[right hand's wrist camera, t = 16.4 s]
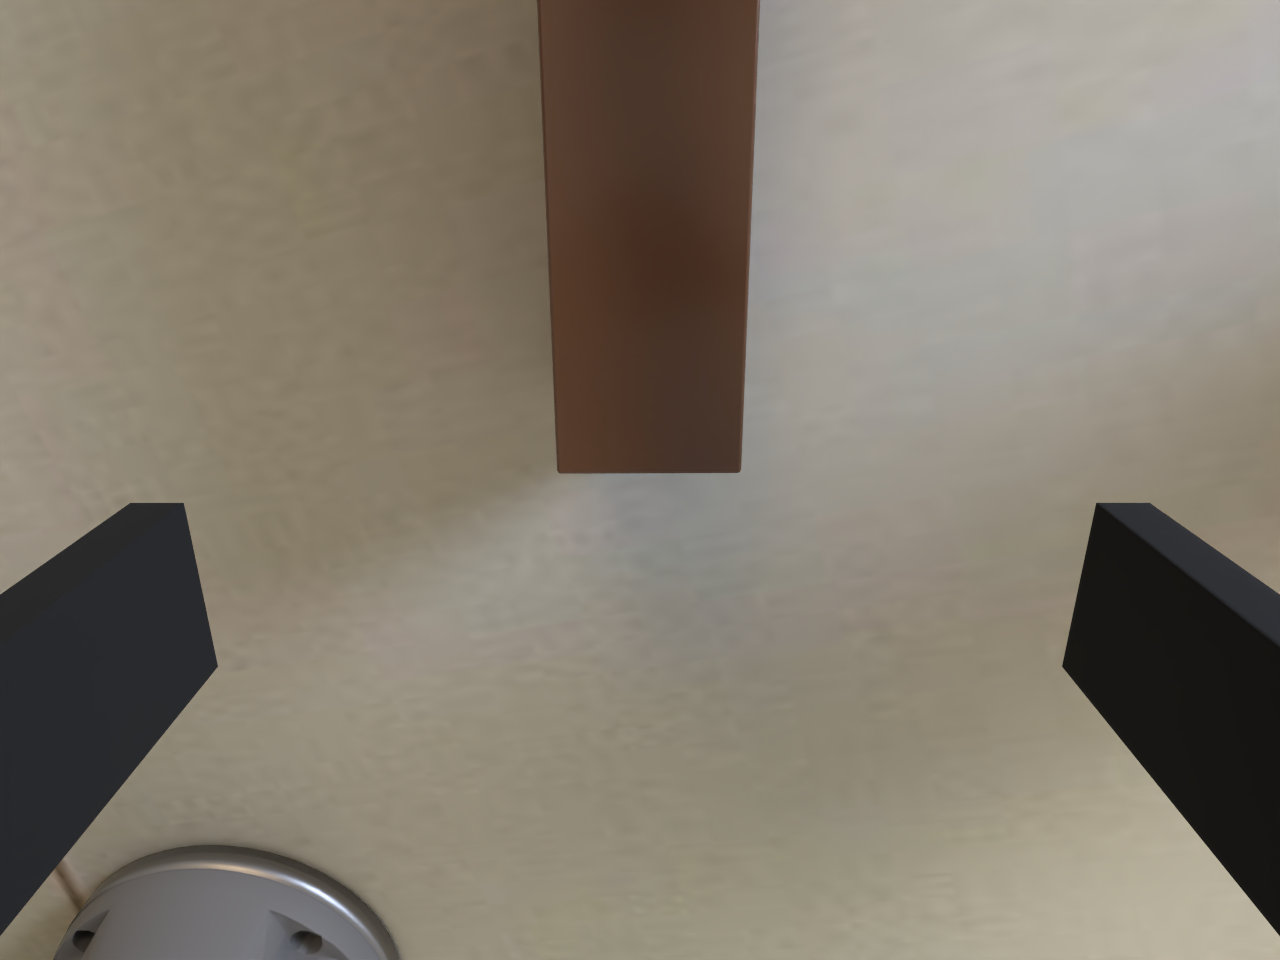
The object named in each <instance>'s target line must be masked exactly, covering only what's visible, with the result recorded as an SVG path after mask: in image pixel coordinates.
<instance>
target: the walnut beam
mask: <svg viewBox="0 0 1280 960" xmlns="http://www.w3.org/2000/svg"><path fill="white" fill-rule="evenodd" d="M537 7H538V31H539V54H540V78H541V101H542V125H543V148H544V171H545V195H546V218H547V242H548V265H549V289H550V312H551V336H552V359H553V383H554V406H555V430H556V453H557V471H558V473H738V472H740V471H741V458H742V434H743V409H744V384H745V359H746V334H747V309H748V285H749V260H750V235H751V210H752V185H753V160H754V135H755V111H756V86H757V61H758V36H759V11H760V0H537Z"/></svg>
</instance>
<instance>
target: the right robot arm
mask: <svg viewBox="0 0 1280 960" xmlns="http://www.w3.org/2000/svg"><path fill="white" fill-rule="evenodd" d="M217 667H218V665H217V660H216V655H215V651H214V646H213V641H212V636H211V631H210V627H209V622H208V617H207V612H206V607H205V603H204V598H203V593H202V588H201V584H200V579H199V574H198V569H197V564H196V560H195V555H194V550H193V545H192V540H191V536H190V531H189V526H188V521H187V516H186V512H185V507H184V503H130V504H128V505H127V506H125V507H124V508H123V509H121V510H120V511H118V512H117V513H116V514H114V515H113V516H111V517H110V518H108V519H107V520H106V521H104V522H103V523H101V524H100V525H99V526H97V527H96V528H94V529H93V530H91V531H90V532H89V533H87V534H86V535H84V536H83V537H81V538H80V539H79V540H77V541H76V542H74V543H73V544H72V545H70V546H69V547H67V548H66V549H64V550H63V551H62V552H60V553H59V554H57V555H56V556H55V557H53V558H52V559H50V560H49V561H47V562H46V563H45V564H43V565H42V566H40V567H39V568H37V569H36V570H35V571H33V572H32V573H30V574H29V575H28V576H26V577H25V578H23V579H22V580H20V581H19V582H18V583H16V584H15V585H13V586H12V587H10V588H9V589H8V590H6V591H5V592H3V593H2V594H1V595H0V935H1V934H2V933H3V932H4V931H5V929H6V928H7V927H8V926H9V924H10V923H11V922H12V921H13V919H14V918H15V917H16V916H17V914H18V913H19V912H20V911H21V909H22V908H23V907H24V906H25V905H26V903H27V902H28V901H29V900H30V898H31V897H32V896H33V895H34V893H35V892H36V891H37V890H38V888H39V887H40V886H41V885H42V884H43V882H44V881H45V880H46V879H47V877H48V876H49V875H50V874H51V872H52V871H53V870H54V869H55V867H56V866H57V865H58V864H59V862H60V861H61V860H62V859H63V858H64V856H65V855H66V854H67V853H68V851H69V850H70V849H71V848H72V846H73V845H74V844H75V843H76V841H77V840H78V839H79V838H80V836H81V835H82V834H83V833H84V832H85V830H86V829H87V828H88V827H89V825H90V824H91V823H92V822H93V820H94V819H95V818H96V817H97V815H98V814H99V813H100V812H101V810H102V809H103V808H104V807H105V806H106V804H107V803H108V802H109V801H110V799H111V798H112V797H113V796H114V794H115V793H116V792H117V791H118V789H119V788H120V787H121V786H122V785H123V783H124V782H125V781H126V780H127V778H128V777H129V776H130V775H131V773H132V772H133V771H134V770H135V768H136V767H137V766H138V765H139V763H140V762H141V761H142V760H143V759H144V757H145V756H146V755H147V754H148V752H149V751H150V750H151V749H152V747H153V746H154V745H155V744H156V742H157V741H158V740H159V739H160V737H161V736H162V735H163V734H164V733H165V731H166V730H167V729H168V728H169V726H170V725H171V724H172V723H173V721H174V720H175V719H176V718H177V716H178V715H179V714H180V713H181V711H182V710H183V709H184V708H185V707H186V705H187V704H188V703H189V702H190V700H191V699H192V698H193V697H194V695H195V694H196V693H197V692H198V690H199V689H200V688H201V687H202V685H203V684H204V683H205V682H206V681H207V679H208V678H209V677H210V676H211V674H212V673H213V672H214V671H215V669H216V668H217ZM1062 667H1063V668H1064V669H1065V671H1066V672H1067V673H1068V674H1069V676H1070V677H1071V678H1072V679H1073V681H1074V682H1075V683H1076V684H1077V685H1078V687H1079V688H1080V689H1081V690H1082V692H1083V693H1084V694H1085V695H1086V697H1087V698H1088V699H1089V700H1090V702H1091V703H1092V704H1093V705H1094V707H1095V708H1096V709H1097V710H1098V711H1099V713H1100V714H1101V715H1102V716H1103V718H1104V719H1105V720H1106V721H1107V723H1108V724H1109V725H1110V726H1111V728H1112V729H1113V730H1114V731H1115V733H1116V734H1117V735H1118V736H1119V737H1120V739H1121V740H1122V741H1123V742H1124V744H1125V745H1126V746H1127V747H1128V749H1129V750H1130V751H1131V752H1132V754H1133V755H1134V756H1135V757H1136V759H1137V760H1138V761H1139V762H1140V763H1141V765H1142V766H1143V767H1144V768H1145V770H1146V771H1147V772H1148V773H1149V775H1150V776H1151V777H1152V778H1153V780H1154V781H1155V782H1156V783H1157V785H1158V786H1159V787H1160V788H1161V789H1162V791H1163V792H1164V793H1165V794H1166V796H1167V797H1168V798H1169V799H1170V801H1171V802H1172V803H1173V804H1174V806H1175V807H1176V808H1177V809H1178V810H1179V812H1180V813H1181V814H1182V815H1183V817H1184V818H1185V819H1186V820H1187V822H1188V823H1189V824H1190V825H1191V827H1192V828H1193V829H1194V830H1195V832H1196V833H1197V834H1198V835H1199V836H1200V838H1201V839H1202V840H1203V841H1204V843H1205V844H1206V845H1207V846H1208V848H1209V849H1210V850H1211V851H1212V853H1213V854H1214V855H1215V856H1216V858H1217V859H1218V860H1219V861H1220V862H1221V864H1222V865H1223V866H1224V867H1225V869H1226V870H1227V871H1228V872H1229V874H1230V875H1231V876H1232V877H1233V879H1234V880H1235V881H1236V882H1237V884H1238V885H1239V886H1240V887H1241V888H1242V890H1243V891H1244V892H1245V893H1246V895H1247V896H1248V897H1249V898H1250V900H1251V901H1252V902H1253V903H1254V905H1255V906H1256V907H1257V908H1258V909H1259V911H1260V912H1261V913H1262V914H1263V916H1264V917H1265V918H1266V919H1267V921H1268V922H1269V923H1270V924H1271V926H1272V927H1273V928H1274V929H1275V931H1276V932H1277V933H1278V934H1279V935H1280V595H1279V594H1278V593H1277V592H1275V591H1274V590H1272V589H1271V588H1270V587H1268V586H1267V585H1265V584H1264V583H1262V582H1261V581H1260V580H1258V579H1257V578H1255V577H1254V576H1252V575H1251V574H1250V573H1248V572H1247V571H1245V570H1244V569H1243V568H1241V567H1240V566H1238V565H1237V564H1235V563H1234V562H1233V561H1231V560H1230V559H1228V558H1227V557H1225V556H1224V555H1223V554H1221V553H1220V552H1218V551H1217V550H1216V549H1214V548H1213V547H1211V546H1210V545H1208V544H1207V543H1206V542H1204V541H1203V540H1201V539H1200V538H1199V537H1197V536H1196V535H1194V534H1193V533H1191V532H1190V531H1189V530H1187V529H1186V528H1184V527H1183V526H1181V525H1180V524H1179V523H1177V522H1176V521H1174V520H1173V519H1172V518H1170V517H1169V516H1167V515H1166V514H1164V513H1163V512H1162V511H1160V510H1159V509H1157V508H1156V507H1155V506H1153V505H1152V504H1150V503H1096V507H1095V512H1094V516H1093V521H1092V526H1091V531H1090V536H1089V540H1088V545H1087V550H1086V555H1085V560H1084V564H1083V569H1082V574H1081V579H1080V584H1079V588H1078V593H1077V598H1076V603H1075V607H1074V612H1073V617H1072V622H1071V627H1070V631H1069V636H1068V641H1067V646H1066V651H1065V655H1064V660H1063V665H1062ZM53 960H399V957H398V955H397V952H396V949H395V946H394V944H393V942H392V940H391V938H390V936H389V934H388V933H387V931H386V929H385V928H384V926H383V925H382V923H381V922H380V921H379V919H378V918H377V917H376V916H375V914H374V913H373V912H372V911H371V910H370V909H369V908H368V907H367V906H366V905H365V904H364V903H363V902H362V901H361V900H360V899H359V898H358V897H356V896H355V895H354V894H353V893H352V892H350V891H349V890H348V889H346V888H345V887H344V886H342V885H341V884H340V883H338V882H336V881H335V880H333V879H332V878H330V877H328V876H327V875H325V874H323V873H321V872H319V871H317V870H315V869H313V868H311V867H309V866H307V865H304V864H302V863H300V862H297V861H295V860H292V859H289V858H286V857H283V856H280V855H276V854H273V853H269V852H265V851H260V850H255V849H250V848H243V847H235V846H220V845H203V846H189V847H180V848H175V849H170V850H165V851H161V852H158V853H154V854H151V855H148V856H145V857H143V858H140V859H138V860H136V861H133V862H132V863H130V864H128V865H126V866H124V867H122V868H121V869H119V870H118V871H116V872H115V873H113V874H112V875H111V876H109V877H108V878H107V879H106V880H105V881H104V882H103V883H101V885H100V886H99V887H98V888H97V889H96V890H95V891H94V892H93V894H92V895H91V896H90V898H89V899H88V901H87V902H86V903H85V905H84V906H83V907H82V909H81V910H80V911H79V913H78V914H77V916H76V917H75V919H74V920H73V921H72V923H71V924H70V926H69V928H68V930H67V932H66V934H65V936H64V938H63V940H62V942H61V943H60V945H59V947H58V949H57V951H56V954H55V957H54V959H53Z"/></svg>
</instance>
